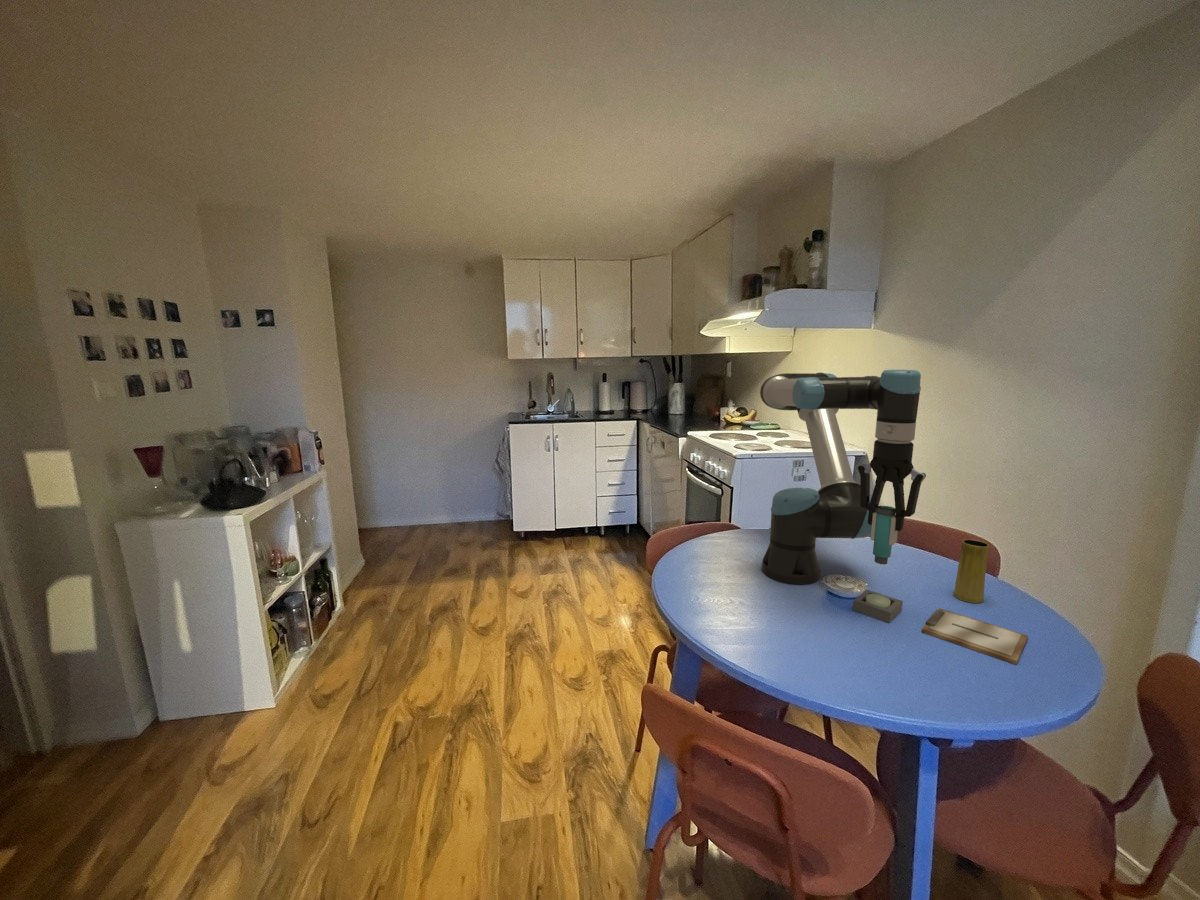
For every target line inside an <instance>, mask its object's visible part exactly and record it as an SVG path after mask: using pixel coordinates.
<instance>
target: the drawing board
mask: <svg viewBox="0 0 1200 900" xmlns="http://www.w3.org/2000/svg"><path fill="white" fill-rule="evenodd" d="M921 633H924V634H927V635H929V636H932V637H935V638H938V639H941V640H944V641H946V642H950V643H953V644H954V645H955V644H956V645H958V646H961V647H964V648H965V649H966V648H967V649H970V650H973V651H976V652H979V653H981V654H984V655H987V656H989V657H990V656H991V657H993V658H996V659H998V660H1001V661H1004V662H1007V663H1010V664H1013V665H1015V666H1016V665H1017V664H1018V662H1019V660H1020V657H1021V655H1022V654H1023V651H1024V648H1025V647H1026V644H1027V641H1028V639H1029V635H1028V634H1026V633H1025V634H1024V633H1020V632H1018V631H1016V630H1015V631H1014V630H1011V629H1009V628H1005V627H1001V626H999V625H995V624H993V623H988V622H985V621H982V620H979V619H976V618H972V617H971V616H970V617H969V616H966V615H963V614H959V613H956V612H953V611H950V610H947V609H943V608H941V607H940V608H938V609H935V611H934V612H933V613H931V615H930V617H928V619H927V620H926V621H925V625H924V626H923V627H922V629H921Z"/></svg>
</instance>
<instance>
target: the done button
mask: <svg viewBox="0 0 1200 900" xmlns="http://www.w3.org/2000/svg"><path fill="white" fill-rule="evenodd" d="M882 595H883V594H882ZM882 595H878V594H868V595H867V596H866V602H867V603H870V604H873V605H876V606H879V607H882V608H885V609H887V608H888V607H889V606H890V600H889V599H888V598H887V597H885V596H886V595H885V596H882Z"/></svg>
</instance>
